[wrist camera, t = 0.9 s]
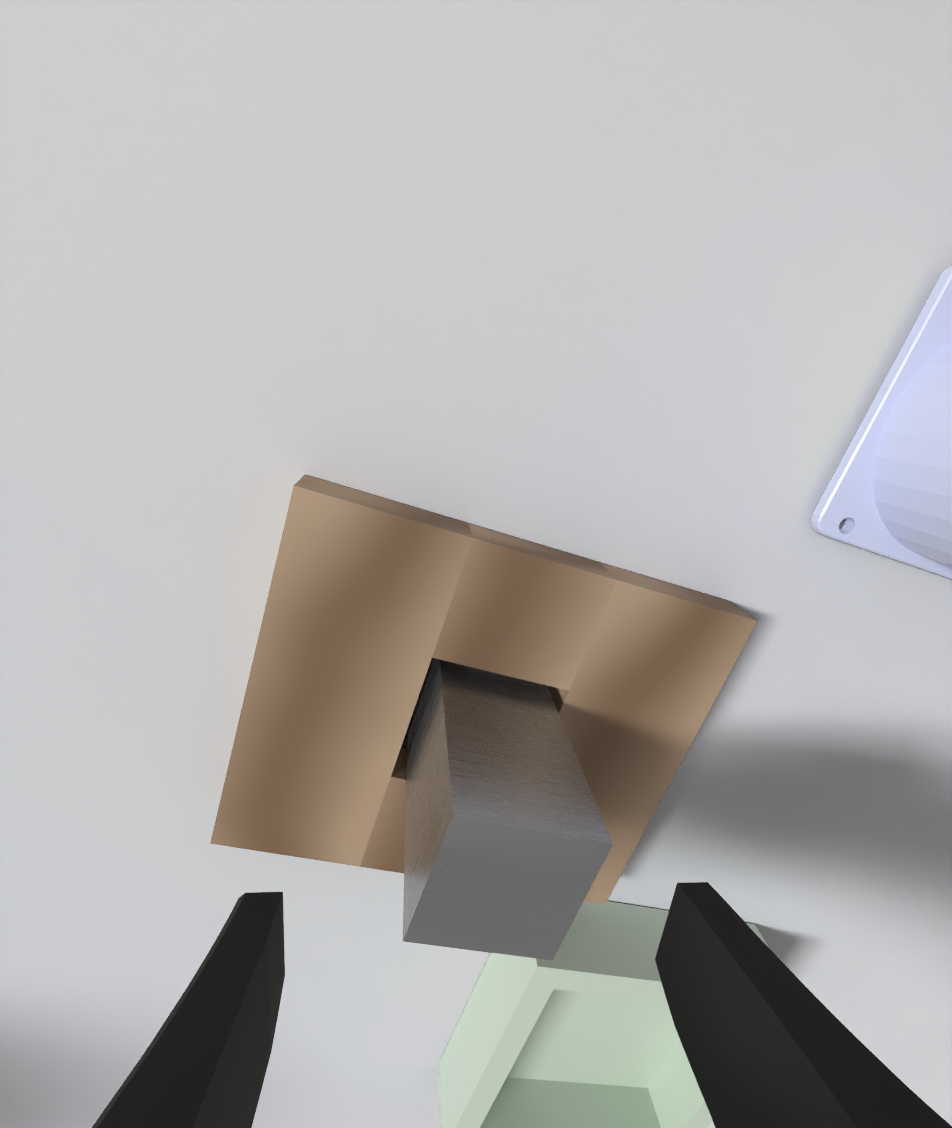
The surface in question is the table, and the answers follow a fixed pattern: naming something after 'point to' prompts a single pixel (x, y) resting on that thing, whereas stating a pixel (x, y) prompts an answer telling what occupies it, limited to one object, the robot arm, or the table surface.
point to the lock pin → (495, 817)
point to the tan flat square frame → (463, 636)
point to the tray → (574, 1036)
